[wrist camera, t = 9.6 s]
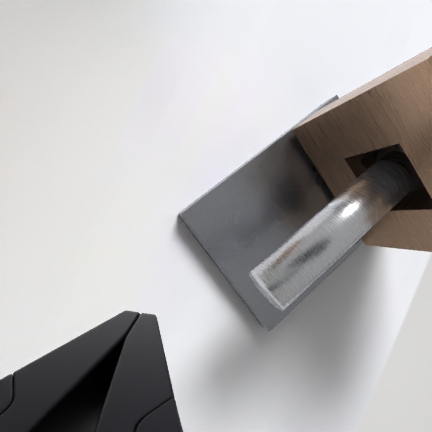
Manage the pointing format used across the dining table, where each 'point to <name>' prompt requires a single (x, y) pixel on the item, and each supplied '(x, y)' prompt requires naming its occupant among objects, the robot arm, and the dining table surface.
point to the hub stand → (291, 221)
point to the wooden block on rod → (380, 145)
